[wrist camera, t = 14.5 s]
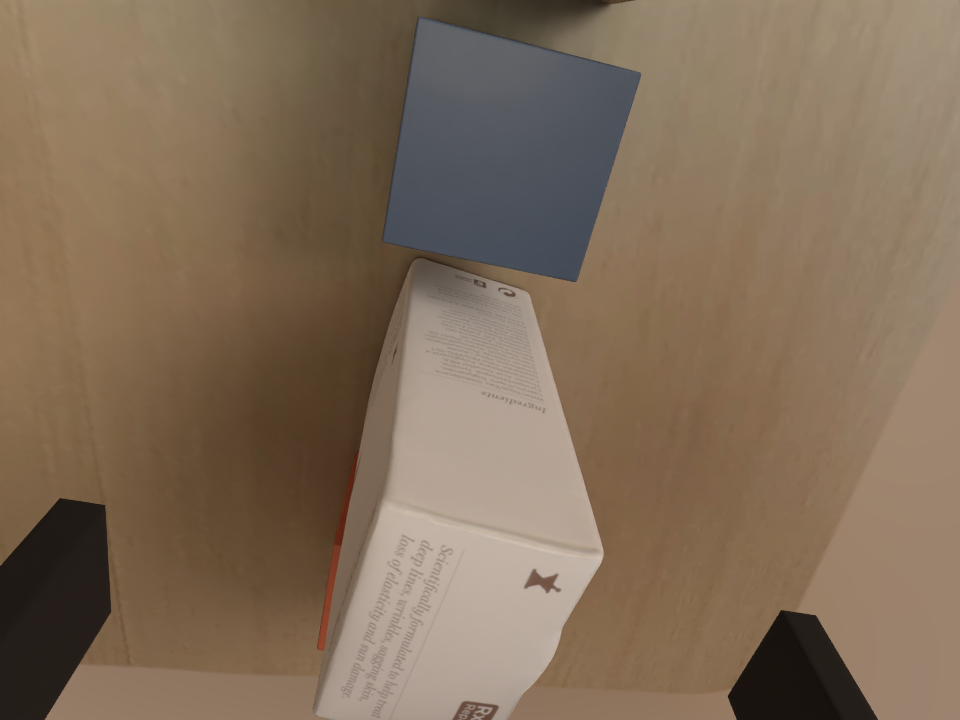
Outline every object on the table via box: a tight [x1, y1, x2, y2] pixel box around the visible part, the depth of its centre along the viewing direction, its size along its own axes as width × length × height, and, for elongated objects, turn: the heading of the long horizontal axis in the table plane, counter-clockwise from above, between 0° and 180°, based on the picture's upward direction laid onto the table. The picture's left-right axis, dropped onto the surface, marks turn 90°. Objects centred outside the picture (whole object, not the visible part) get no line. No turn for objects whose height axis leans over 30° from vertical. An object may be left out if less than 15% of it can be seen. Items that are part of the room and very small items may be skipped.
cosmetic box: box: [313, 258, 604, 720], centre depth 17 cm, size 6×4×12 cm
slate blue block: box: [382, 17, 641, 282], centre depth 17 cm, size 5×5×5 cm
